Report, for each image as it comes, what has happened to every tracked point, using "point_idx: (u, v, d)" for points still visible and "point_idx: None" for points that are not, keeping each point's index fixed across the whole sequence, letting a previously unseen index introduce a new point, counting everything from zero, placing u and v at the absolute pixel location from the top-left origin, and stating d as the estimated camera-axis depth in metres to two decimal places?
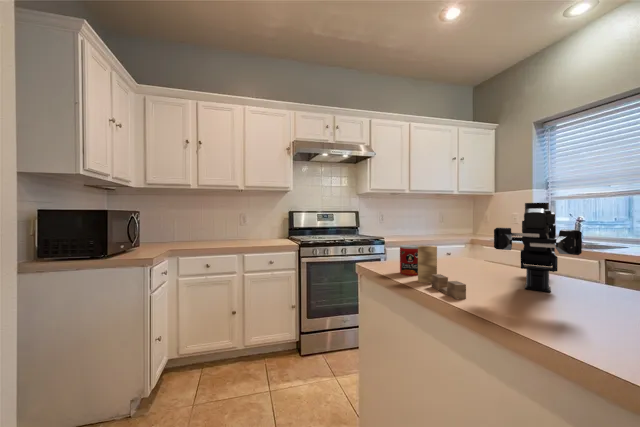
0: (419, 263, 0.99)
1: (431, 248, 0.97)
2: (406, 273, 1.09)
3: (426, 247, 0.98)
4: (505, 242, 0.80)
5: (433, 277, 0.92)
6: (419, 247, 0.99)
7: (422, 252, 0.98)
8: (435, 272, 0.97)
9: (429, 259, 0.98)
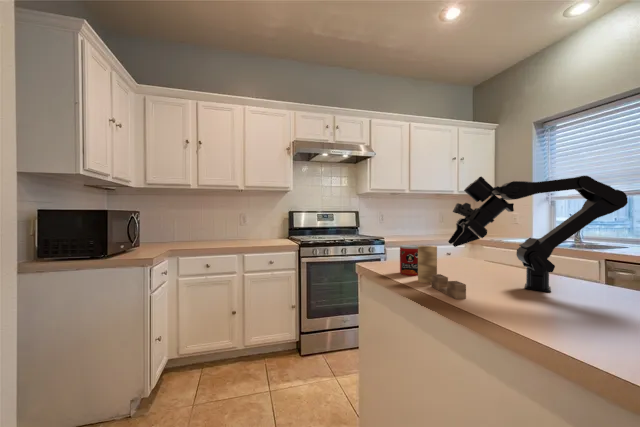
0: (419, 263, 0.99)
1: (431, 248, 0.97)
2: (406, 273, 1.09)
3: (426, 247, 0.98)
4: None
5: (433, 277, 0.92)
6: (419, 247, 0.99)
7: (422, 252, 0.98)
8: (435, 272, 0.97)
9: (430, 259, 0.98)
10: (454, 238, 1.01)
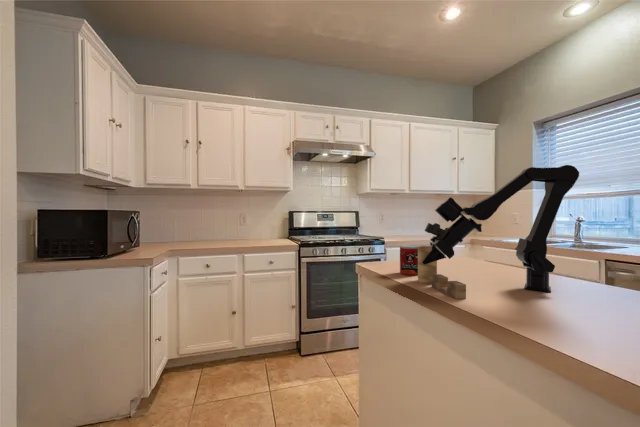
0: (419, 263, 0.99)
1: (431, 248, 0.97)
2: (406, 273, 1.09)
3: (426, 247, 0.98)
4: None
5: (433, 277, 0.92)
6: (419, 247, 0.99)
7: (422, 252, 0.98)
8: (435, 272, 0.97)
9: None
10: None
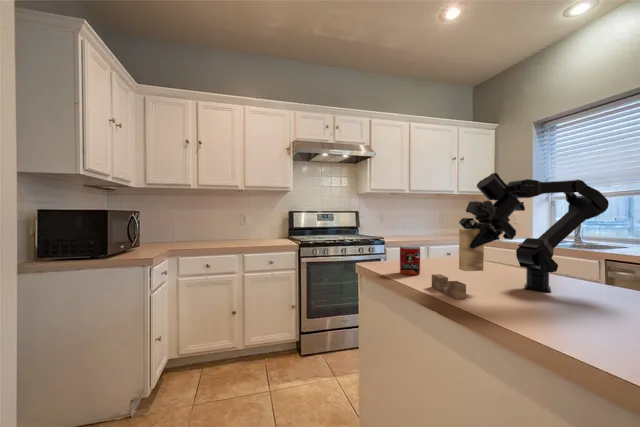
0: (466, 249, 0.85)
1: (478, 231, 0.86)
2: (406, 273, 1.09)
3: (473, 230, 0.86)
4: None
5: (433, 277, 0.92)
6: (466, 230, 0.85)
7: (469, 236, 0.86)
8: (482, 258, 0.86)
9: None
10: None
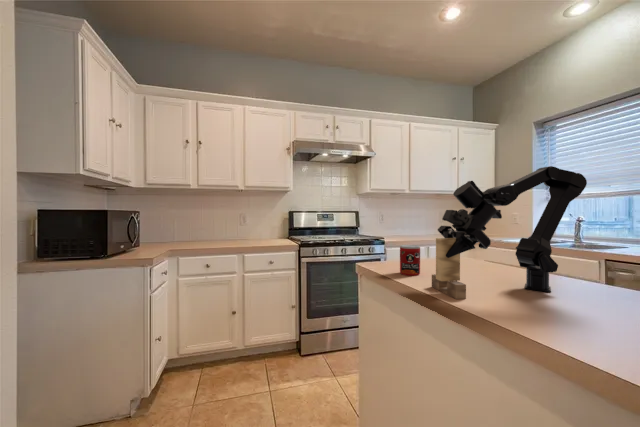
0: (442, 259, 0.85)
1: (454, 241, 0.85)
2: (406, 273, 1.09)
3: (449, 240, 0.85)
4: None
5: (433, 277, 0.92)
6: (442, 240, 0.84)
7: (445, 246, 0.85)
8: (458, 268, 0.85)
9: None
10: None
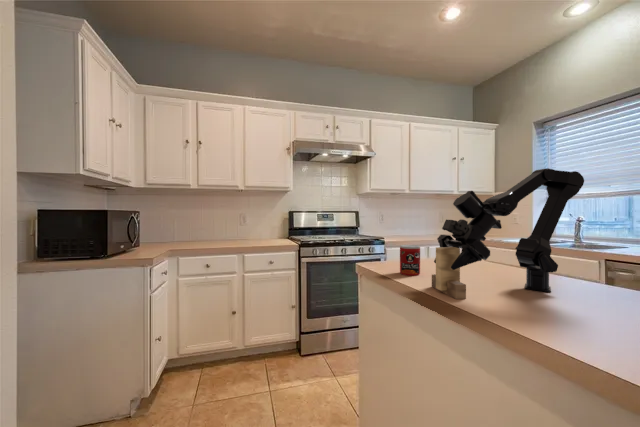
0: (442, 268, 0.85)
1: (454, 250, 0.85)
2: (406, 273, 1.09)
3: (449, 249, 0.85)
4: None
5: (433, 277, 0.92)
6: (442, 250, 0.84)
7: (445, 255, 0.85)
8: (458, 277, 0.85)
9: None
10: None
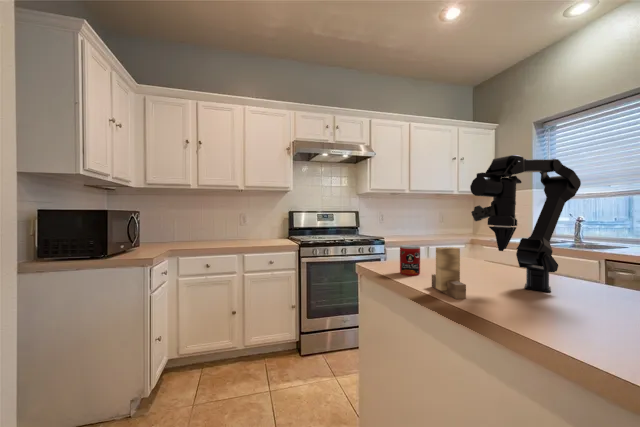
0: (442, 268, 0.85)
1: (454, 250, 0.85)
2: (406, 273, 1.09)
3: (449, 249, 0.85)
4: None
5: (433, 277, 0.92)
6: (442, 250, 0.84)
7: (445, 255, 0.85)
8: (458, 277, 0.85)
9: (453, 263, 0.85)
10: None
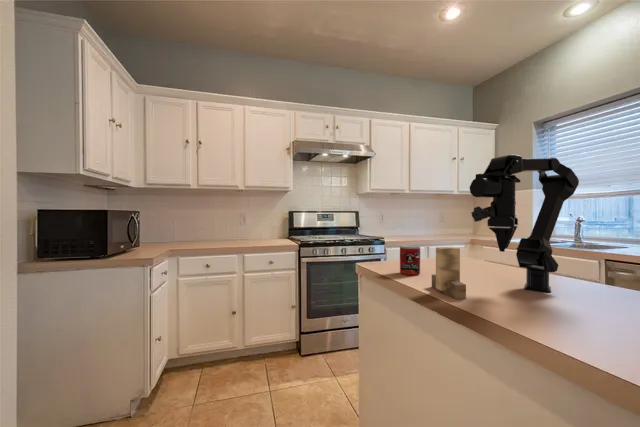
0: (442, 268, 0.85)
1: (454, 250, 0.85)
2: (406, 273, 1.09)
3: (449, 249, 0.85)
4: None
5: (433, 277, 0.92)
6: (442, 250, 0.84)
7: (445, 255, 0.85)
8: (458, 277, 0.85)
9: (453, 263, 0.85)
10: None
